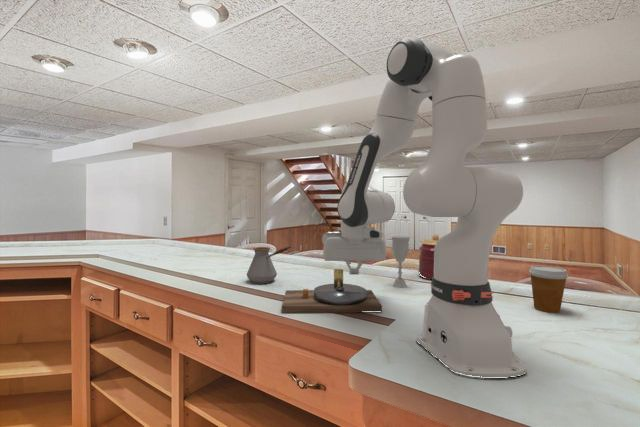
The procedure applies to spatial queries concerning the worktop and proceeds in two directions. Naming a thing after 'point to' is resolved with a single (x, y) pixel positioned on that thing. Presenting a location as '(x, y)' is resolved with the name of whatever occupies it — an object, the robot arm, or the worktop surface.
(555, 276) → the disposable coffee cup
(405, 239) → the chalice
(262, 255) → the coffee pot
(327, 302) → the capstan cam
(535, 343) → the worktop surface
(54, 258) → the worktop surface
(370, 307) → the walnut stand
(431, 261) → the canister
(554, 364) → the worktop surface
